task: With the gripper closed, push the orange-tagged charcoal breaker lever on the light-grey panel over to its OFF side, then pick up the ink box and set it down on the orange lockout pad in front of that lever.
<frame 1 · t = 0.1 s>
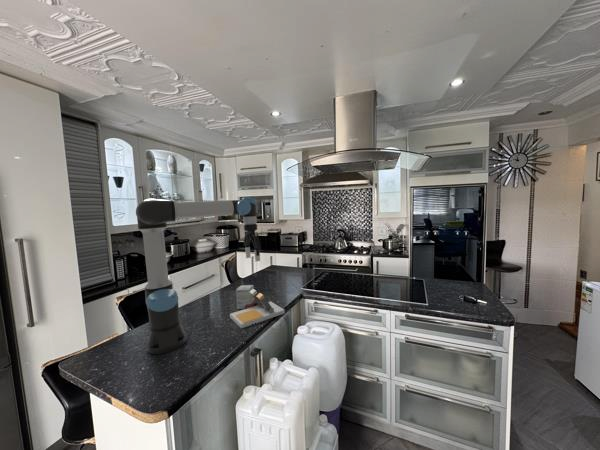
hand: (252, 259, 145), 28 cm above the table, fingers open, 13 cm apart
tagged breaker: (264, 302, 131), point 7 cm above the table, hinge at -30.0°
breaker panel: (257, 315, 133), on the table
plain breaker: (257, 298, 139), point 7 cm above the table, hinge at -30.0°, touching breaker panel
ink box: (246, 306, 147), on the table
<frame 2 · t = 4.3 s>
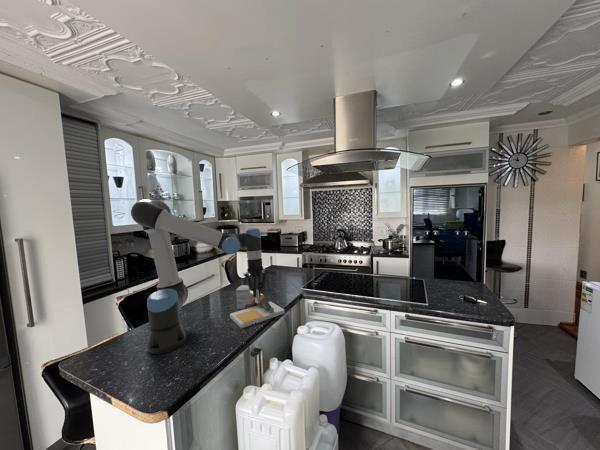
hand: (257, 302, 129), 9 cm above the table, fingers closed
tagged breaker: (264, 302, 131), point 7 cm above the table, hinge at -29.6°, touching gripper
everything else where it was.
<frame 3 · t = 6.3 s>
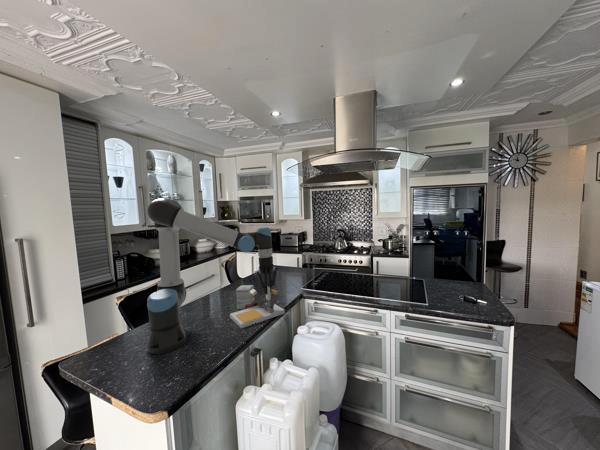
hand: (268, 299, 133), 9 cm above the table, fingers closed
tagged breaker: (271, 300, 134), point 7 cm above the table, hinge at 21.6°
everything else where it was.
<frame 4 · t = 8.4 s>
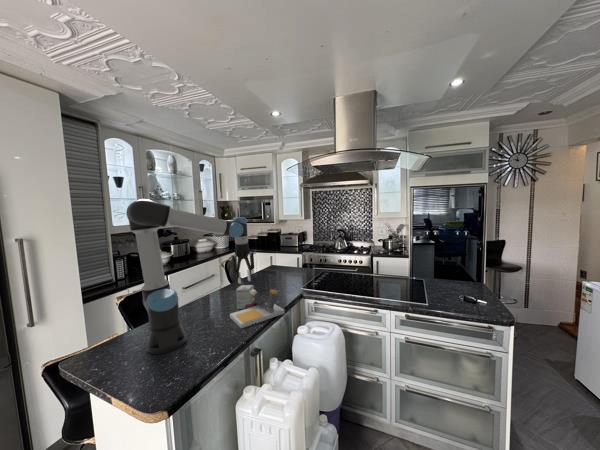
hand: (244, 281, 146), 15 cm above the table, fingers open, 5 cm apart
nothing on the table moved.
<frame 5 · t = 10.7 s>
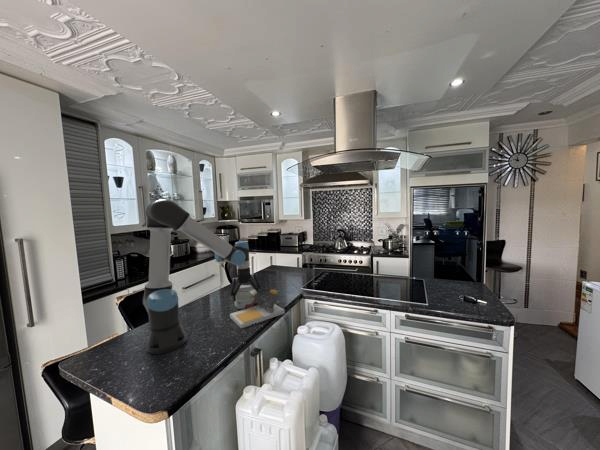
hand: (246, 303, 147), 2 cm above the table, fingers closed on ink box, 11 cm apart
ink box: (246, 306, 147), on the table, touching gripper
everything else where it was.
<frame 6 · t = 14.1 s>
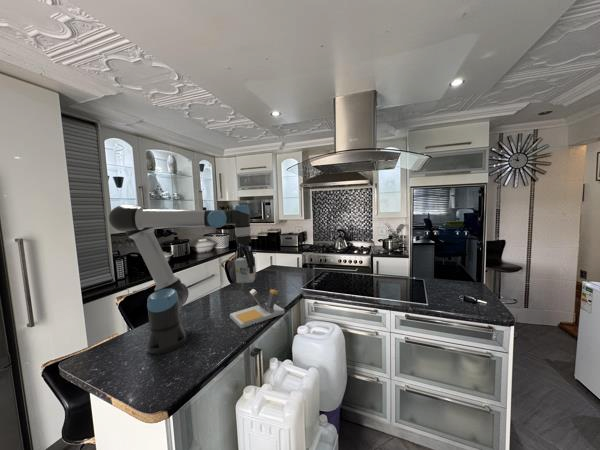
hand: (246, 277, 127), 23 cm above the table, fingers closed on ink box, 11 cm apart
ink box: (246, 280, 127), point 21 cm above the table, touching gripper
everything else where it was.
when the fingers open (6 cm above the table, at t = 17.8 s): ink box drops 2 cm, resting on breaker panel.
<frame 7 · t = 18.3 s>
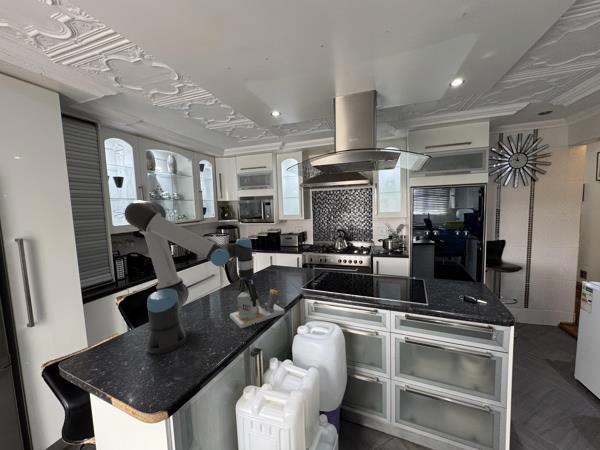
hand: (248, 308, 128), 6 cm above the table, fingers open, 13 cm apart
ink box: (249, 315, 128), point 2 cm above the table, touching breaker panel
everything else where it was.
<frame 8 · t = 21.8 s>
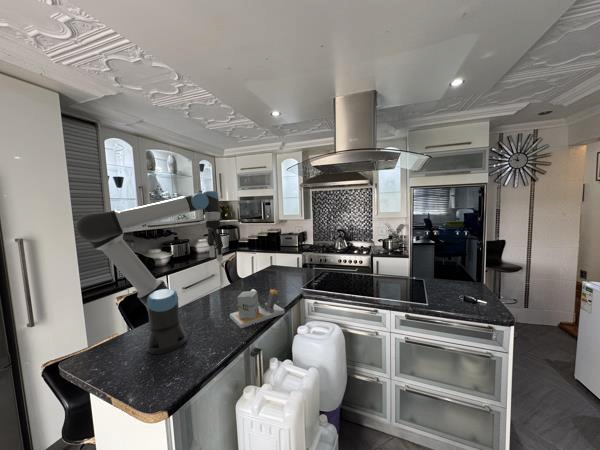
hand: (216, 258, 134), 32 cm above the table, fingers open, 13 cm apart
nothing on the table moved.
at the end: tagged breaker at +22° (first picture: -30°); ink box inside the target area (0.0 cm from its centre), point 2.1 cm above the table; ink box tilted 0° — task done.
